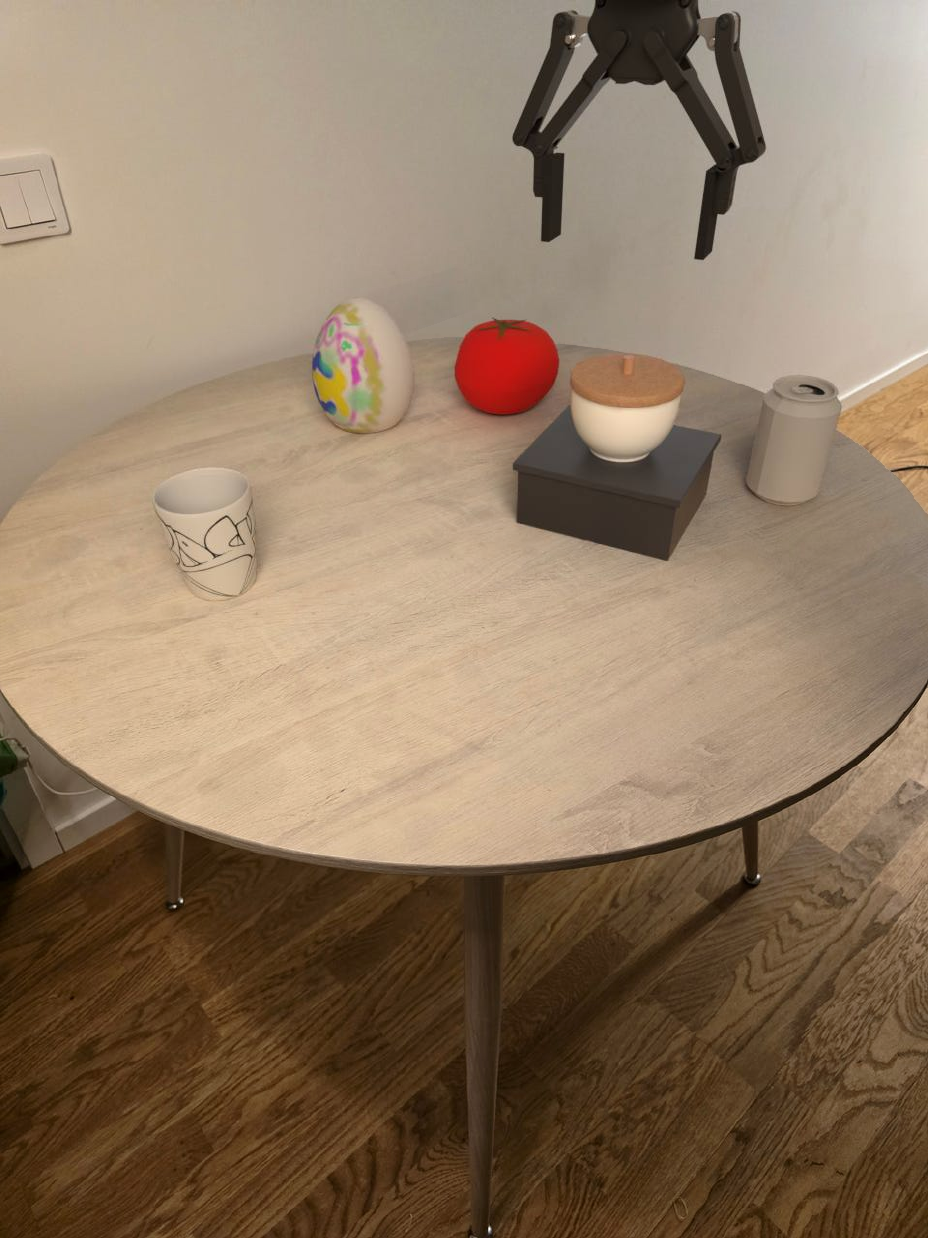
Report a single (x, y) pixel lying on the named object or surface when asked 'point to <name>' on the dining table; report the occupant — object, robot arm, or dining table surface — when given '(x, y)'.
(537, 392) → the tomato
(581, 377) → the lidded bowl
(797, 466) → the can
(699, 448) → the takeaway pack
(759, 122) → the robot arm
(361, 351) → the decorative egg
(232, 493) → the mug
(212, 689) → the dining table surface
